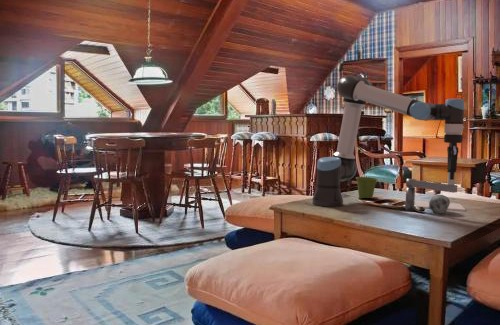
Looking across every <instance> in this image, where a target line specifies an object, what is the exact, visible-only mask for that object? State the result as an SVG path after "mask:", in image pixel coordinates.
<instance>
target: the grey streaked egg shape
mask: <svg viewBox="0 0 500 325" xmlns="http://www.w3.org/2000/svg"><path fill="white" fill-rule="evenodd" d="M428 202H429V208H430V210H431V211H432V212H433V213H435V214H439V215H442V214H444V213H446V212H447V211H448V210H447V208H448V207H449V204H450V203H451V202H450V198H449V197H447V196H446V195H444V194H436V195H434V196H432V197H431V198H430V200H429V201H428Z"/></svg>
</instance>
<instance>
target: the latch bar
mask: <svg viewBox="0 0 500 325" xmlns="http://www.w3.org/2000/svg"><path fill="white" fill-rule="evenodd" d="M406 187H414V188H419V189H425V190H430V191H431V190H433V191H439V192H440V191H441V192H447V193H458V184H455V185H450V184H448V183H441V182H440V183H439V182H434V181H433V182H432V181H426V180H418V179H415V178H406V179H405V188H406Z"/></svg>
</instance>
